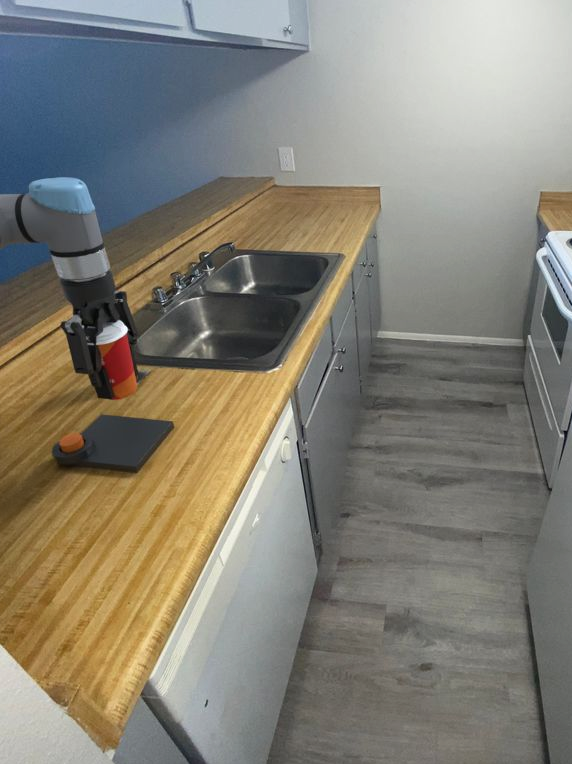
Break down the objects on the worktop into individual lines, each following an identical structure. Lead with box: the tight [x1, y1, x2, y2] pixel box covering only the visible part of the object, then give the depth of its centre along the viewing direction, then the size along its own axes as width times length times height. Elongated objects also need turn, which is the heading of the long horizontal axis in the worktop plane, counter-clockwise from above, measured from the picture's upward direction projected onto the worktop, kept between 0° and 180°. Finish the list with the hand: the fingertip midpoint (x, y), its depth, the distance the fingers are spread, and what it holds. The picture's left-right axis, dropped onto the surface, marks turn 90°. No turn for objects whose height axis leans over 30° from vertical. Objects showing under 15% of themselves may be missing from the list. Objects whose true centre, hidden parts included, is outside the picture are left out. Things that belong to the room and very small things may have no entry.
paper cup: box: [86, 320, 138, 401], centre depth 87 cm, size 8×8×14 cm
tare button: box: [58, 432, 84, 453], centre depth 90 cm, size 4×4×2 cm
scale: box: [51, 413, 175, 474], centre depth 94 cm, size 17×14×4 cm
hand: (119, 385), depth 90 cm, fingers closed on paper cup, 7 cm apart
